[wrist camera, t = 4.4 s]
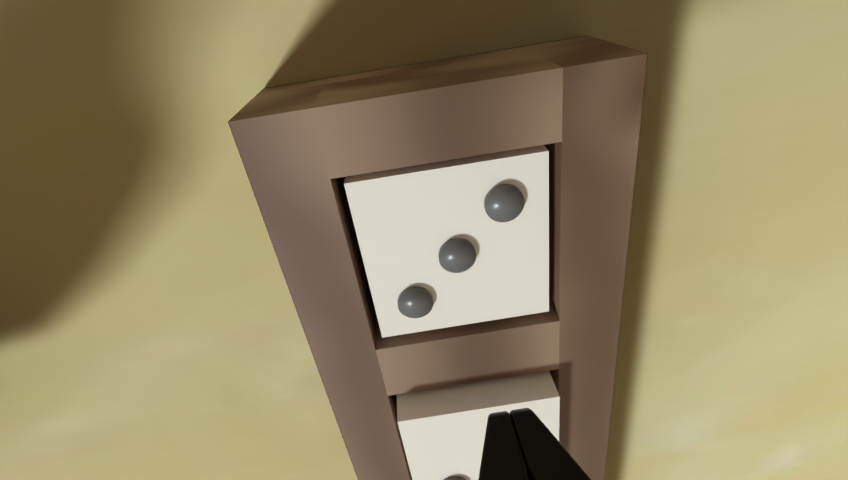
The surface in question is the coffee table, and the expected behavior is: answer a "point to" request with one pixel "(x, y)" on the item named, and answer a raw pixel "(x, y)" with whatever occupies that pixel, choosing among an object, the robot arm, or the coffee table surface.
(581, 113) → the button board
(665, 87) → the coffee table surface
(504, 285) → the three dot tile
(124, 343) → the coffee table surface
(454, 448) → the two dot tile
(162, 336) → the coffee table surface
